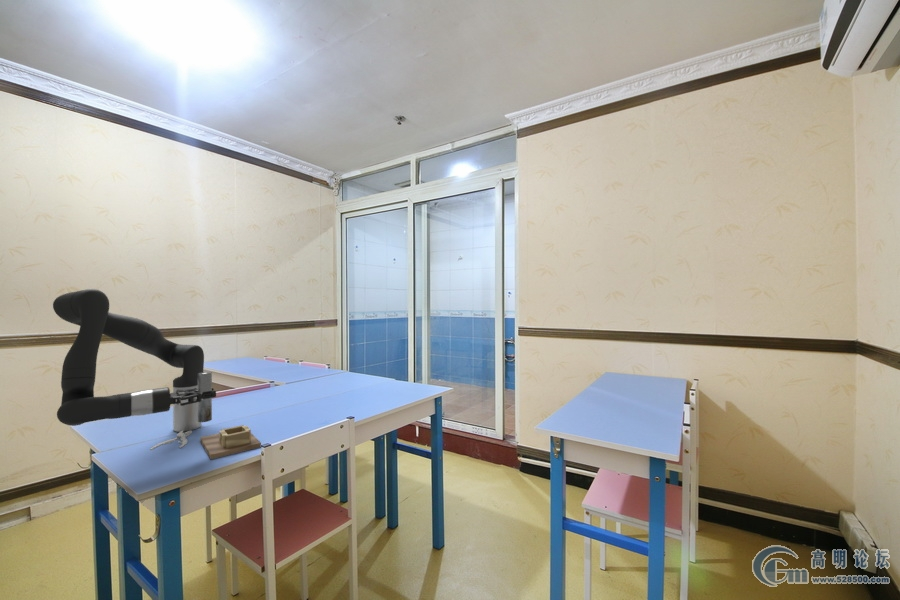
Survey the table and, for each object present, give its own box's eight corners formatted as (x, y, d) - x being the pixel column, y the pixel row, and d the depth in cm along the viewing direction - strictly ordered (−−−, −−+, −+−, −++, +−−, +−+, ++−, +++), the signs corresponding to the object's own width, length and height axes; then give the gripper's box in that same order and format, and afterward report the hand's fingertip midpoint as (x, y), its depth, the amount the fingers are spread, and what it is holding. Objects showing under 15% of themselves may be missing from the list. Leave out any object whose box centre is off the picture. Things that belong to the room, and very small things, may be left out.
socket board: (200, 441, 136) (200, 426, 135) (246, 431, 146) (246, 417, 145) (210, 459, 121) (210, 442, 121) (260, 447, 131) (260, 431, 131)
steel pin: (196, 420, 126) (196, 372, 126) (210, 417, 129) (210, 371, 129) (198, 423, 123) (198, 374, 123) (212, 420, 126) (212, 373, 126)
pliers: (149, 446, 128) (172, 431, 142) (149, 451, 128) (172, 435, 142) (181, 444, 130) (201, 429, 144) (181, 449, 130) (201, 433, 144)
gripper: (151, 394, 111) (218, 385, 122) (149, 385, 122) (211, 377, 133) (151, 419, 111) (218, 407, 122) (149, 408, 122) (211, 398, 133)
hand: (214, 392), depth 128 cm, fingers closed on steel pin, 4 cm apart
